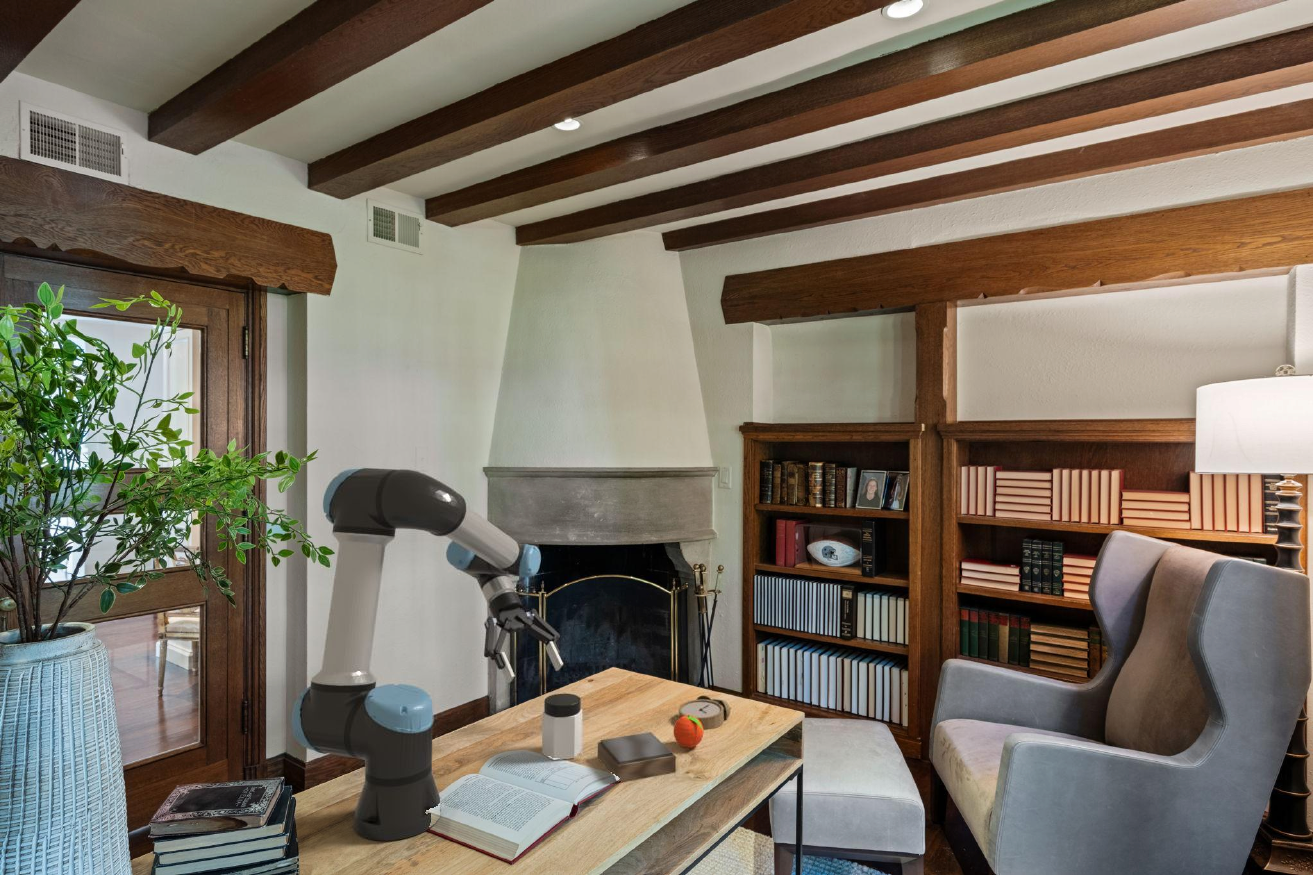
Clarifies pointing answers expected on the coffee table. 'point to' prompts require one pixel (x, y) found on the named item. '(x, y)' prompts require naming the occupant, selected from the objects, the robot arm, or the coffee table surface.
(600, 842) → the coffee table surface
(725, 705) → the alarm clock
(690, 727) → the clementine
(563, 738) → the jar
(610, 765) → the stand
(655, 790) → the coffee table surface
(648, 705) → the coffee table surface
